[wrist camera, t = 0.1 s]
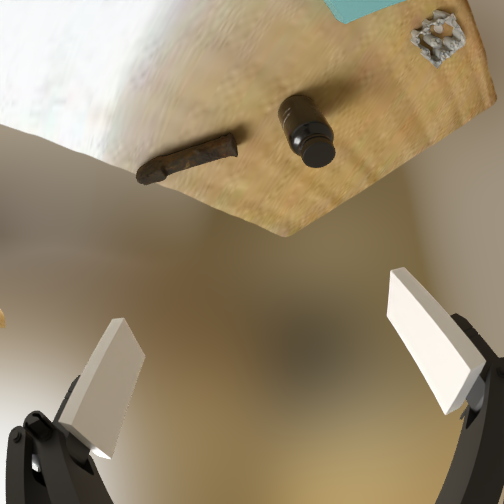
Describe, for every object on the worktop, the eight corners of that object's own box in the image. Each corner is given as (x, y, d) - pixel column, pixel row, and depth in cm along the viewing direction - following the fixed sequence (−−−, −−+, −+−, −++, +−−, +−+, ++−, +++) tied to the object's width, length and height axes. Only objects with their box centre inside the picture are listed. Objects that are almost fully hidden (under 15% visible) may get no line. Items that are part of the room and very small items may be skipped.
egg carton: (439, 3, 20) (455, 10, 17) (457, 34, 24) (472, 43, 22) (403, 33, 27) (418, 41, 24) (424, 62, 31) (438, 72, 29)
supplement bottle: (271, 101, 38) (289, 144, 32) (311, 89, 37) (339, 129, 31) (284, 132, 44) (301, 179, 38) (320, 120, 42) (345, 165, 36)
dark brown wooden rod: (232, 128, 42) (235, 144, 40) (237, 146, 46) (240, 162, 44) (131, 158, 44) (127, 175, 42) (140, 173, 47) (137, 190, 45)
